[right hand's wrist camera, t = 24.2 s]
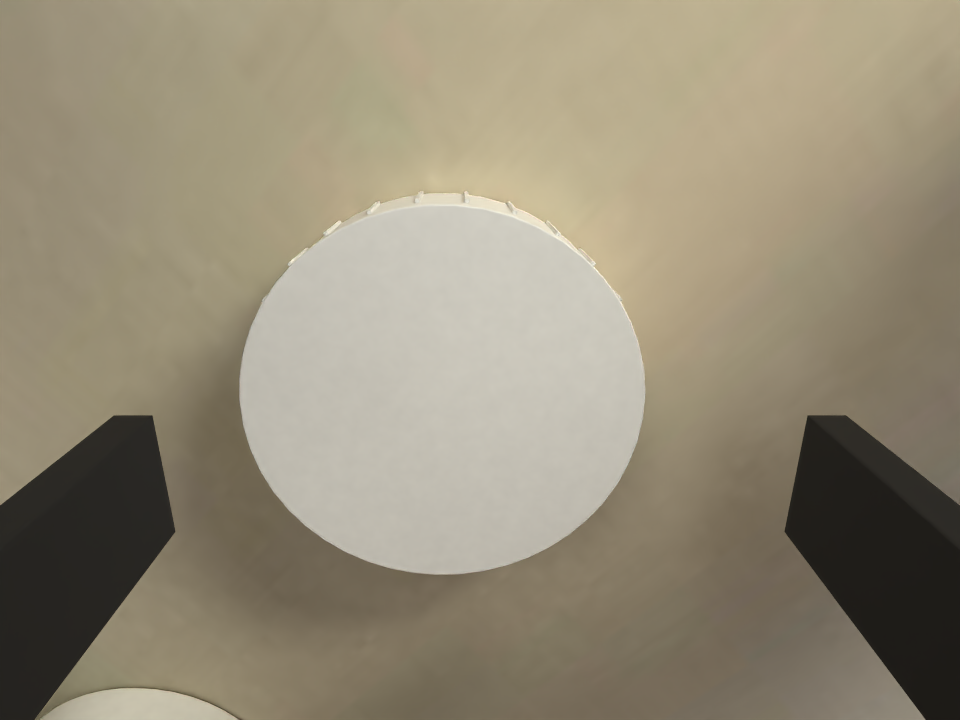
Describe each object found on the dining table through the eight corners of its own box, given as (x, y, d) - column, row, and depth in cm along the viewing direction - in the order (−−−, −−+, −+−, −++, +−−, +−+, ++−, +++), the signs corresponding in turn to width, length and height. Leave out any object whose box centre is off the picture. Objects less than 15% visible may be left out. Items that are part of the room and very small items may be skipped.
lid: (691, 292, 17) (727, 318, 15) (521, 568, 20) (530, 623, 18) (345, 118, 15) (327, 117, 13) (216, 450, 18) (182, 496, 16)
